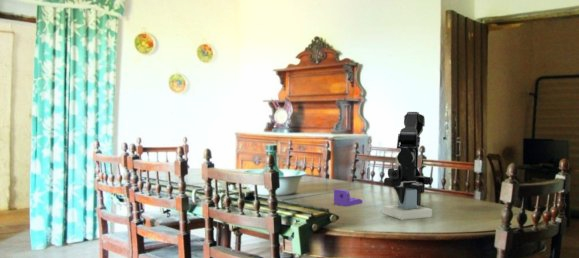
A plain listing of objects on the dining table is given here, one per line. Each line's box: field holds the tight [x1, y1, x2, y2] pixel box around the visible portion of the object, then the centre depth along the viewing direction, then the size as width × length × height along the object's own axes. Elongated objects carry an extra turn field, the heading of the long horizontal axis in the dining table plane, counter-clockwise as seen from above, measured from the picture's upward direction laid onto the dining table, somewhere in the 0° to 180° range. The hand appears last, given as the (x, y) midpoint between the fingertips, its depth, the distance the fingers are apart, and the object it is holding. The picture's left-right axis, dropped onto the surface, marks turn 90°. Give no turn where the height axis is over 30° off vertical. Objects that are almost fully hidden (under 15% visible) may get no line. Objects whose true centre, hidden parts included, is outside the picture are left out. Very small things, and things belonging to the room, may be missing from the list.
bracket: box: [333, 188, 363, 207], centre depth 205 cm, size 12×7×7 cm, turn 138°
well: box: [382, 204, 433, 221], centre depth 181 cm, size 14×12×3 cm
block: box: [397, 188, 417, 209], centre depth 181 cm, size 5×5×7 cm
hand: (407, 203), depth 181 cm, fingers closed on block, 5 cm apart
